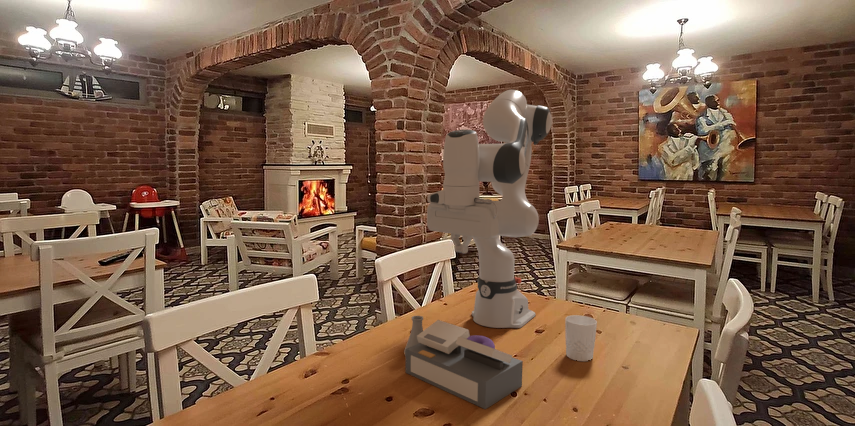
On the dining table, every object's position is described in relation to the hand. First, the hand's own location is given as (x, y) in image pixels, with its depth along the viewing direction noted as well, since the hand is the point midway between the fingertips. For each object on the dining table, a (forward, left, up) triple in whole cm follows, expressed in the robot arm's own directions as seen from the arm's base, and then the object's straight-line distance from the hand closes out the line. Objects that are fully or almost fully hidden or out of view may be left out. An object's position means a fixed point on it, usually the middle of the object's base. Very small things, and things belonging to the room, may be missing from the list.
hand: (461, 252), depth 114 cm
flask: (+3, -12, -29) cm, 32 cm away
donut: (-9, -1, -29) cm, 30 cm away
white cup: (-26, +20, -29) cm, 44 cm away
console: (+6, +6, -29) cm, 30 cm away
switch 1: (+6, 0, -20) cm, 21 cm away
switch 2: (+6, +12, -20) cm, 24 cm away
